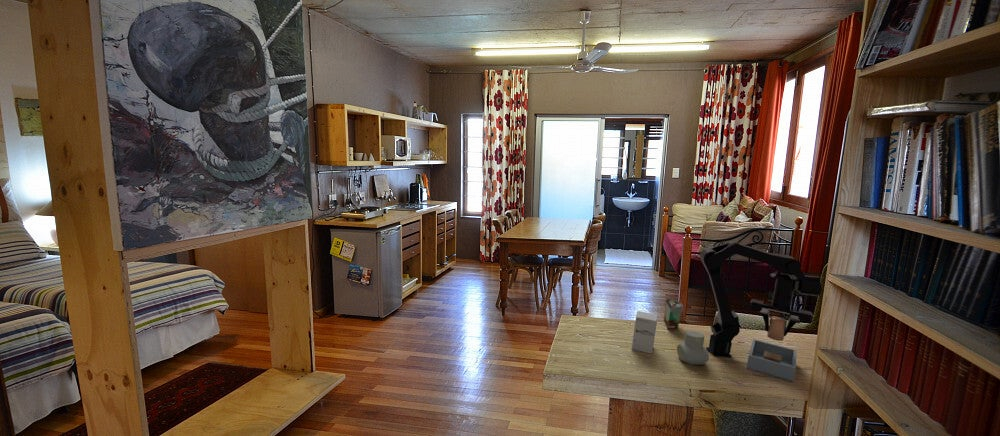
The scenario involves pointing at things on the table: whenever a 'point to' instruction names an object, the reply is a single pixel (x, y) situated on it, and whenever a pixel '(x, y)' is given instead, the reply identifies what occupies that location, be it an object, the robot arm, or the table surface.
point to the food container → (672, 313)
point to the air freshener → (693, 349)
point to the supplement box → (644, 332)
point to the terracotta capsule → (777, 328)
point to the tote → (772, 368)
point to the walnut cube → (772, 357)
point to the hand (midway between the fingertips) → (775, 333)
